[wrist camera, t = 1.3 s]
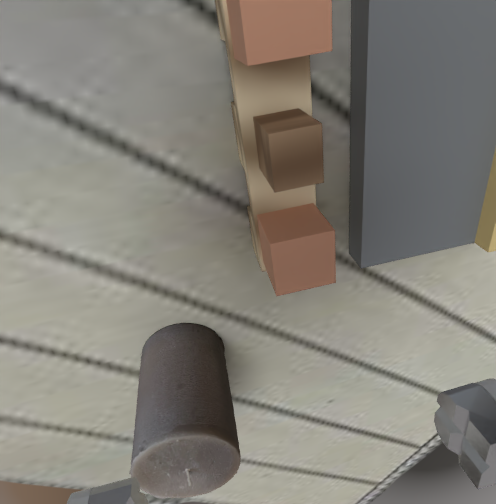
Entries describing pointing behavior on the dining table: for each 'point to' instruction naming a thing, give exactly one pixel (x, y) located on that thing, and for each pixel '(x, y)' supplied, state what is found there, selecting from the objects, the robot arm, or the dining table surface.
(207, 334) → the pillar candle
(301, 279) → the block
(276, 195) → the pallet
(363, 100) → the dock
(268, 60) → the block
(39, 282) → the dining table surface
